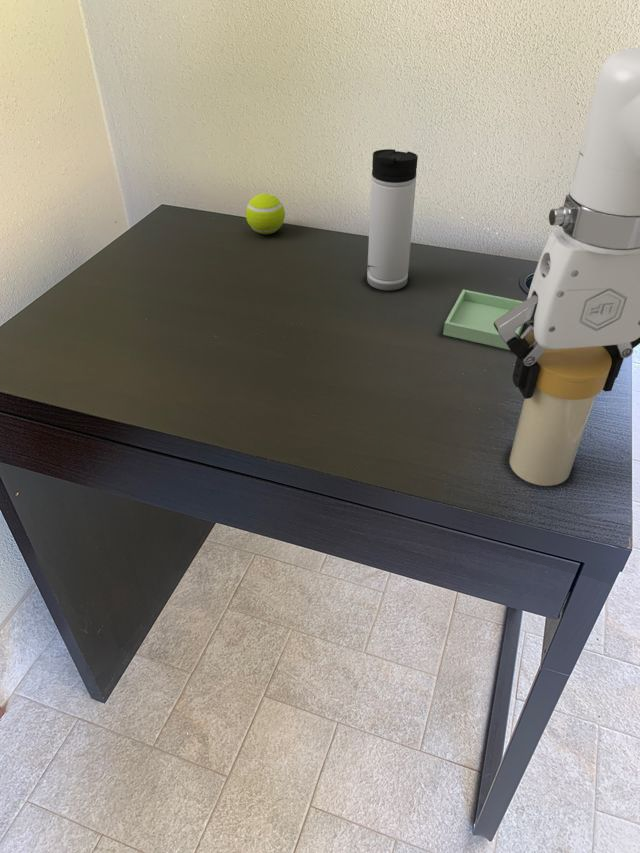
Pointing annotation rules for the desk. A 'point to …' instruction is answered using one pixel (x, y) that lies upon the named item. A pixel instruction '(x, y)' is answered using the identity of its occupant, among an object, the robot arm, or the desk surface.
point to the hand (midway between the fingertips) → (562, 385)
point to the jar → (548, 437)
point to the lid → (573, 372)
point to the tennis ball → (265, 213)
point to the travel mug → (391, 218)
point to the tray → (479, 318)
